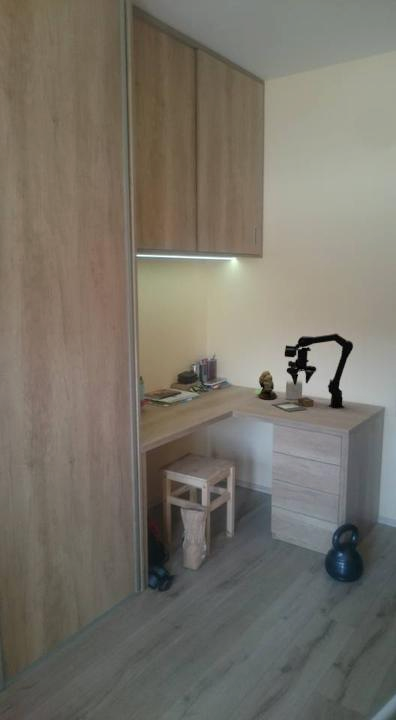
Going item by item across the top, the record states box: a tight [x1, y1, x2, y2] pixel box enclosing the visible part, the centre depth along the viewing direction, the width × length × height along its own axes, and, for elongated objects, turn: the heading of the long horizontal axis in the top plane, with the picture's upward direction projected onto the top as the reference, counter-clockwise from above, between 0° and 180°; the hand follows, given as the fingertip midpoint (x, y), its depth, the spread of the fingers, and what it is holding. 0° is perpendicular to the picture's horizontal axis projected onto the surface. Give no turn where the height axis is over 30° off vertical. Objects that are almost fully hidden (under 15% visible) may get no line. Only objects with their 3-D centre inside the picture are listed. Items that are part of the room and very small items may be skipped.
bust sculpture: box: [258, 370, 278, 401], centre depth 329 cm, size 18×12×17 cm, turn 0°
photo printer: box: [285, 378, 303, 400], centre depth 325 cm, size 10×4×12 cm, turn 98°
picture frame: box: [271, 401, 307, 413], centre depth 305 cm, size 18×12×1 cm, turn 25°
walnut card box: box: [297, 396, 315, 408], centre depth 310 cm, size 8×6×4 cm
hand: (300, 383), depth 310 cm, fingers open, 9 cm apart
